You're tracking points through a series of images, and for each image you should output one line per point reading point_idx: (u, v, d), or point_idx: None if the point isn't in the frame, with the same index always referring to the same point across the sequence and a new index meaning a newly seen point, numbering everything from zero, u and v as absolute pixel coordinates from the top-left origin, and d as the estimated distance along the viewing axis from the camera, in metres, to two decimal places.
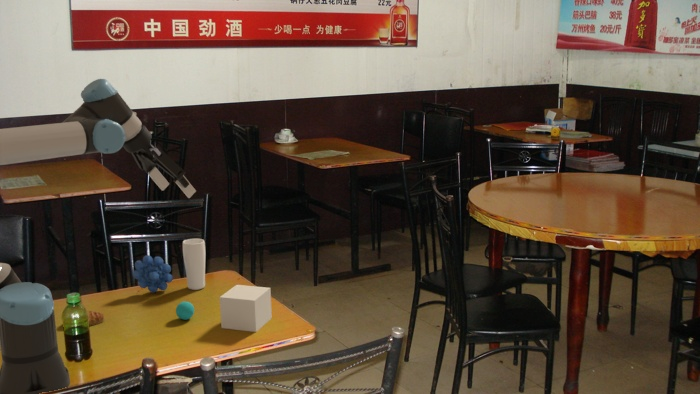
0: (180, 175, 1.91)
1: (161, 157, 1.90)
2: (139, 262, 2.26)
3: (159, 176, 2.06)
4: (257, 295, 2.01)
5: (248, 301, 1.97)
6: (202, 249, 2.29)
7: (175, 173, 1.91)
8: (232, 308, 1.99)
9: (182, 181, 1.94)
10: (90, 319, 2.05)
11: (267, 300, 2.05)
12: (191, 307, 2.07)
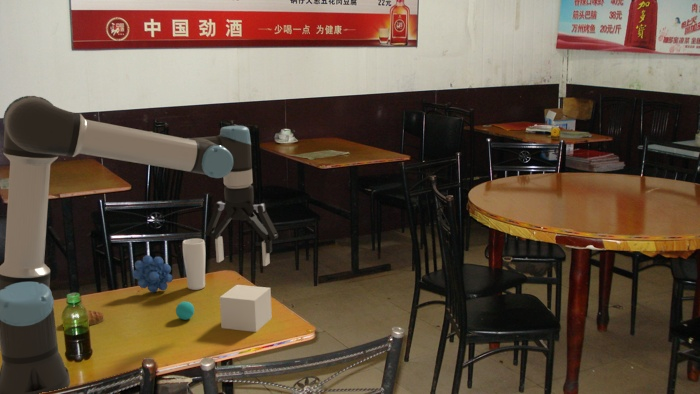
0: (275, 236, 1.96)
1: (264, 214, 1.96)
2: (139, 262, 2.26)
3: (221, 247, 2.03)
4: (257, 295, 2.01)
5: (248, 301, 1.97)
6: (202, 249, 2.29)
7: (272, 232, 1.96)
8: (232, 308, 1.99)
9: (270, 245, 1.97)
10: (90, 319, 2.05)
11: (267, 300, 2.05)
12: (191, 307, 2.07)
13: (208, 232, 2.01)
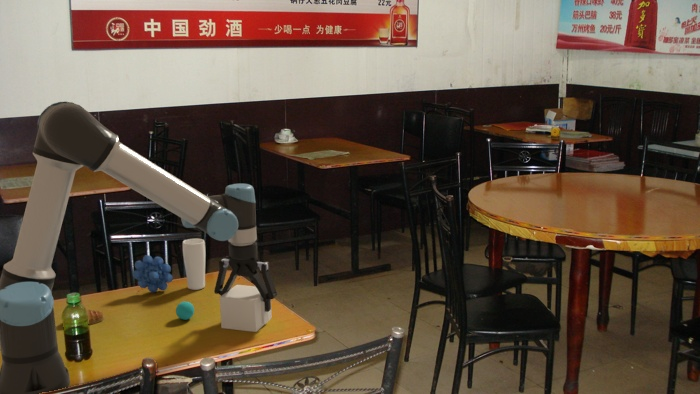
0: (274, 295, 2.00)
1: (267, 273, 1.99)
2: (139, 262, 2.26)
3: None
4: (257, 295, 2.01)
5: (248, 301, 1.97)
6: (202, 249, 2.29)
7: (272, 292, 1.99)
8: (232, 308, 1.99)
9: (269, 304, 2.01)
10: (89, 318, 2.06)
11: None
12: (191, 307, 2.07)
13: (217, 290, 2.04)
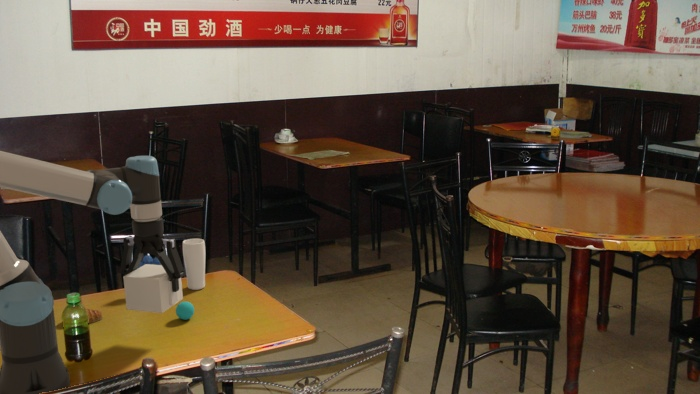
0: (181, 274, 1.88)
1: (173, 250, 1.87)
2: None
3: None
4: (163, 274, 1.89)
5: (152, 280, 1.85)
6: (202, 249, 2.29)
7: (179, 271, 1.87)
8: (136, 288, 1.87)
9: (176, 283, 1.89)
10: (89, 317, 2.06)
11: None
12: (191, 307, 2.07)
13: (122, 270, 1.92)
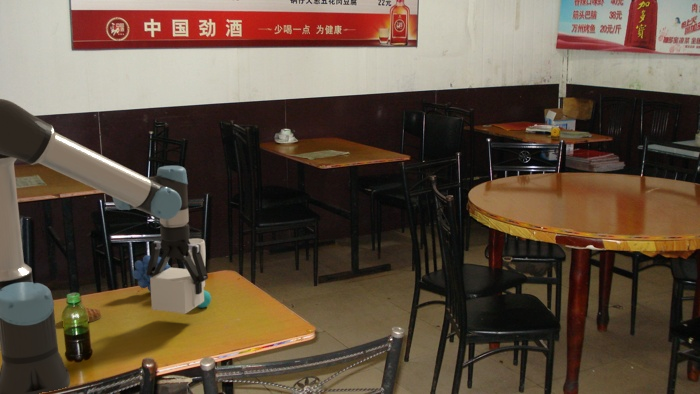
0: (205, 278, 2.00)
1: (198, 255, 2.00)
2: (139, 262, 2.26)
3: None
4: (188, 277, 2.01)
5: (178, 282, 1.98)
6: (202, 249, 2.29)
7: (203, 274, 2.00)
8: (162, 289, 2.00)
9: (199, 286, 2.01)
10: (88, 316, 2.07)
11: None
12: (208, 303, 2.16)
13: (149, 272, 2.05)
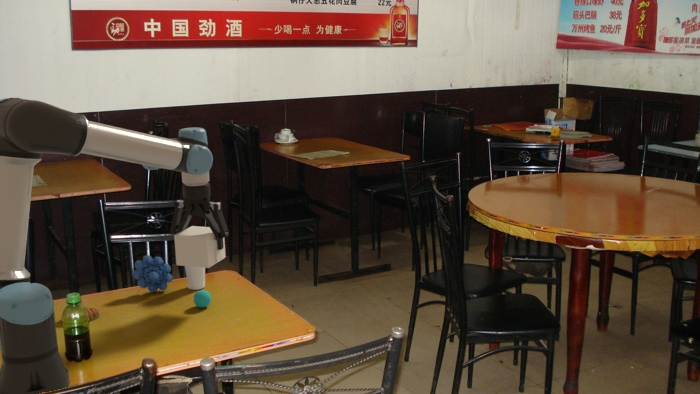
0: (226, 234, 2.10)
1: (219, 212, 2.10)
2: (139, 262, 2.26)
3: None
4: (210, 233, 2.11)
5: (201, 238, 2.08)
6: None
7: (224, 230, 2.10)
8: (186, 245, 2.10)
9: (221, 242, 2.12)
10: None
11: None
12: (208, 303, 2.16)
13: (172, 230, 2.15)
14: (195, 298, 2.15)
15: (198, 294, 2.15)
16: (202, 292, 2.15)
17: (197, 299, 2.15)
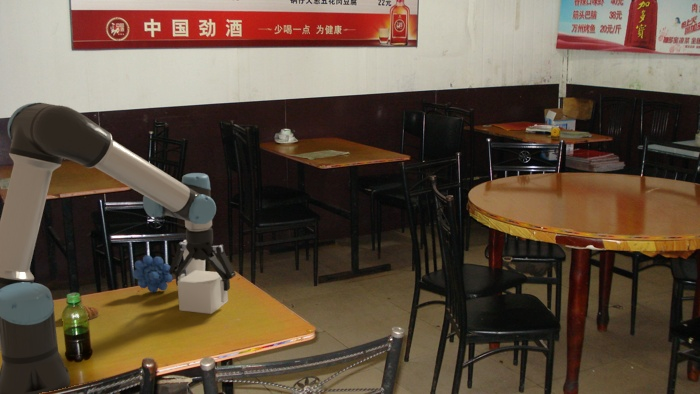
0: (232, 275, 2.13)
1: (222, 254, 2.12)
2: (139, 262, 2.26)
3: None
4: (212, 279, 2.14)
5: (203, 285, 2.11)
6: None
7: (230, 272, 2.12)
8: (189, 291, 2.13)
9: (227, 283, 2.14)
10: None
11: None
12: None
13: (171, 270, 2.18)
14: None
15: None
16: None
17: None
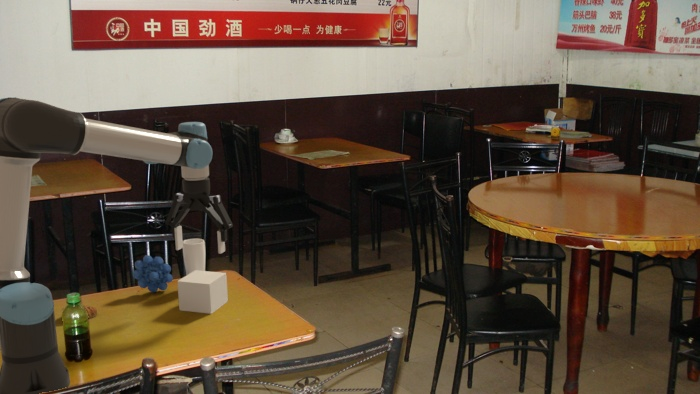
0: (230, 226, 2.09)
1: (219, 205, 2.09)
2: (139, 262, 2.26)
3: (180, 235, 2.16)
4: (212, 279, 2.14)
5: (203, 285, 2.11)
6: (202, 249, 2.29)
7: (227, 222, 2.09)
8: (189, 291, 2.13)
9: (225, 234, 2.11)
10: None
11: (223, 284, 2.18)
12: None
13: (168, 221, 2.14)
14: None
15: None
16: None
17: None
